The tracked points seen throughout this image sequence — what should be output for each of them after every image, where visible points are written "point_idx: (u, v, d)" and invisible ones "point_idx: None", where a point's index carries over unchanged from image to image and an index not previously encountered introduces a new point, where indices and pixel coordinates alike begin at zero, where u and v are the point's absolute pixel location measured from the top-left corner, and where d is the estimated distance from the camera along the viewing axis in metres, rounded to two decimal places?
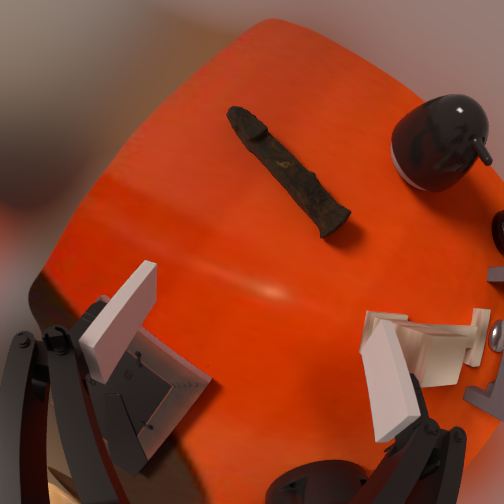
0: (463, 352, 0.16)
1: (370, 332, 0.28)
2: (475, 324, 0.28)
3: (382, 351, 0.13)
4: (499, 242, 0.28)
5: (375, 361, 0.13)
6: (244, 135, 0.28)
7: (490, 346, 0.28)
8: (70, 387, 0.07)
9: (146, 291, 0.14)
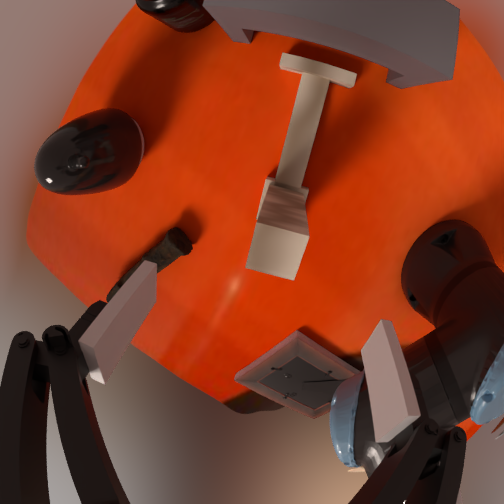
0: (273, 228, 0.20)
1: None
2: (300, 72, 0.25)
3: (382, 351, 0.13)
4: (201, 25, 0.23)
5: (375, 361, 0.13)
6: None
7: None
8: (70, 387, 0.07)
9: (146, 291, 0.14)
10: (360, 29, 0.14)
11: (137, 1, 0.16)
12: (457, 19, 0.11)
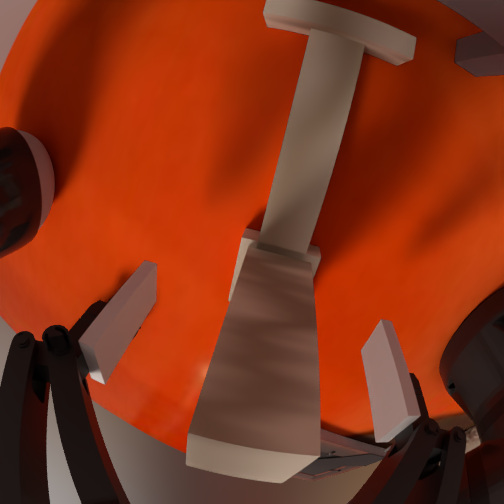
0: (231, 444, 0.07)
1: None
2: (305, 29, 0.11)
3: (383, 351, 0.13)
4: None
5: (375, 361, 0.13)
6: None
7: None
8: (70, 387, 0.07)
9: (146, 291, 0.14)
10: None
11: None
12: None
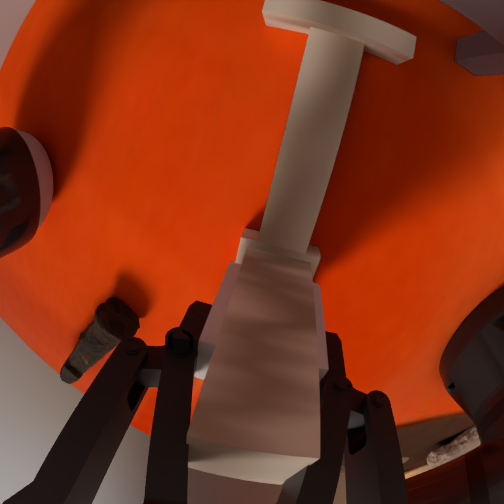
0: (230, 447, 0.07)
1: None
2: (305, 28, 0.11)
3: None
4: None
5: None
6: (79, 378, 0.26)
7: None
8: (180, 390, 0.09)
9: None
10: None
11: None
12: None
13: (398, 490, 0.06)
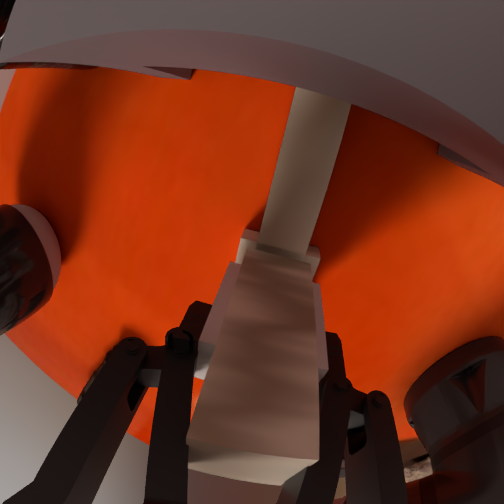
0: (230, 448, 0.07)
1: None
2: None
3: None
4: None
5: None
6: None
7: None
8: (180, 390, 0.09)
9: None
10: (480, 103, 0.03)
11: None
12: None
13: (398, 490, 0.06)
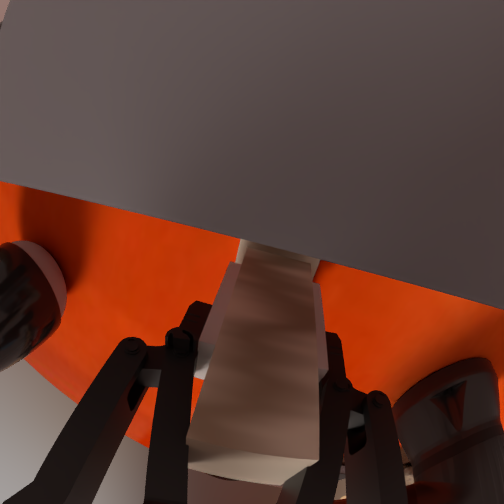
0: (230, 449, 0.07)
1: None
2: None
3: None
4: None
5: None
6: None
7: None
8: (180, 390, 0.09)
9: None
10: (421, 264, 0.05)
11: None
12: None
13: (398, 490, 0.06)
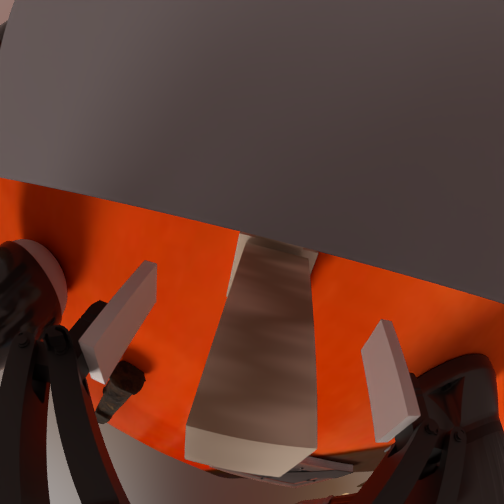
0: (229, 437, 0.07)
1: None
2: None
3: (382, 351, 0.13)
4: None
5: (375, 361, 0.13)
6: (109, 419, 0.32)
7: None
8: (70, 387, 0.07)
9: (146, 291, 0.14)
10: (410, 255, 0.05)
11: None
12: None
13: None
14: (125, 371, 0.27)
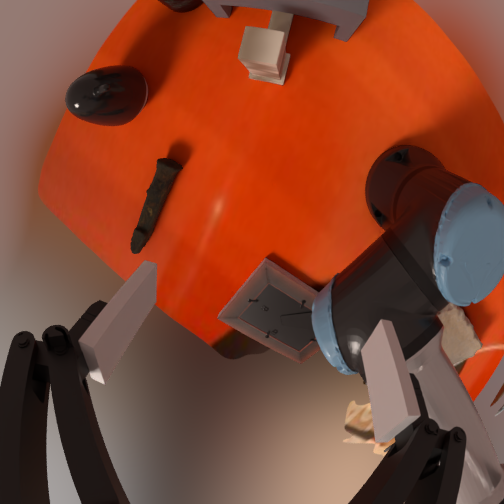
0: (258, 29, 0.21)
1: (264, 78, 0.34)
2: None
3: (382, 351, 0.13)
4: (193, 6, 0.29)
5: (375, 361, 0.13)
6: (145, 239, 0.46)
7: None
8: (70, 387, 0.07)
9: (146, 291, 0.14)
10: None
11: None
12: None
13: None
14: (169, 160, 0.41)
